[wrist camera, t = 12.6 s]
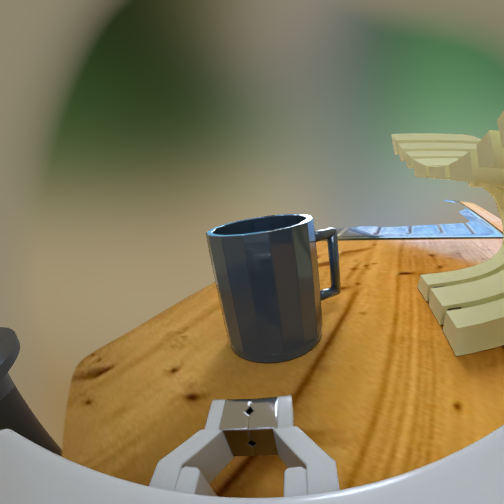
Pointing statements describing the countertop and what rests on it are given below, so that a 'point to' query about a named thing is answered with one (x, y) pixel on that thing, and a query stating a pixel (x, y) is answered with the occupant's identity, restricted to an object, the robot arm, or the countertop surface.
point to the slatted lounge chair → (476, 277)
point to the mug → (272, 284)
